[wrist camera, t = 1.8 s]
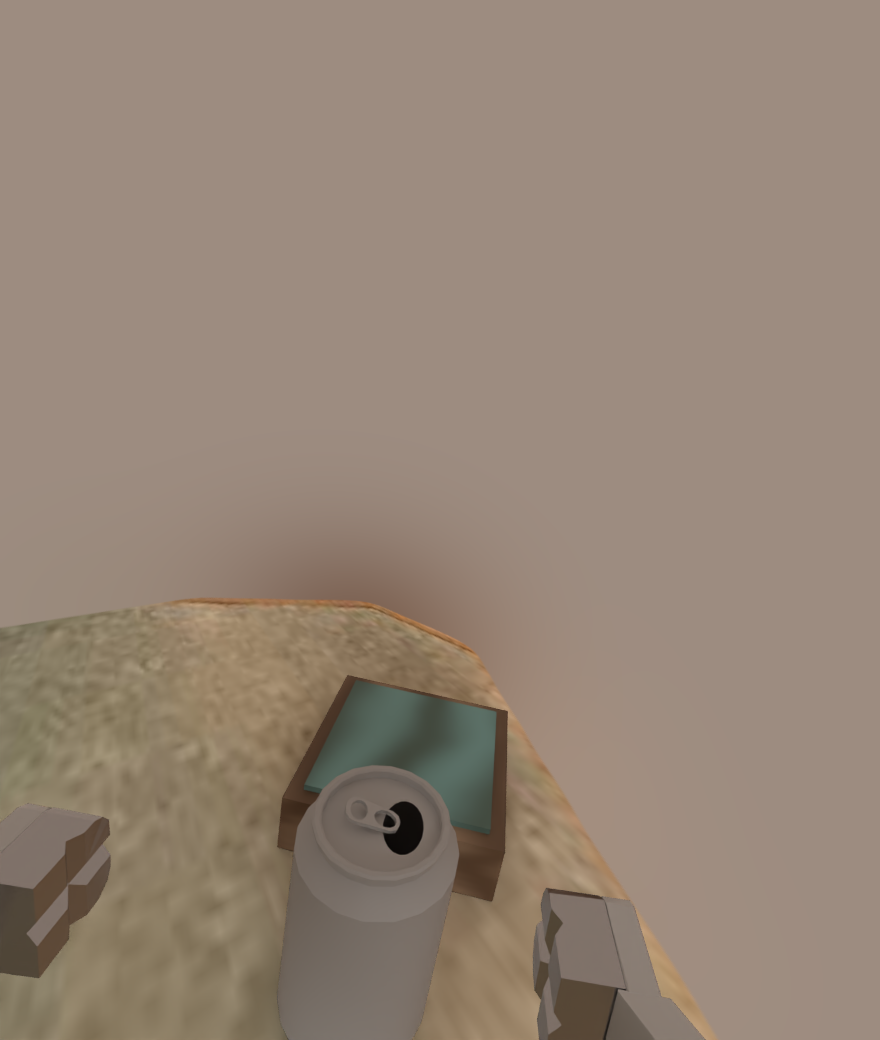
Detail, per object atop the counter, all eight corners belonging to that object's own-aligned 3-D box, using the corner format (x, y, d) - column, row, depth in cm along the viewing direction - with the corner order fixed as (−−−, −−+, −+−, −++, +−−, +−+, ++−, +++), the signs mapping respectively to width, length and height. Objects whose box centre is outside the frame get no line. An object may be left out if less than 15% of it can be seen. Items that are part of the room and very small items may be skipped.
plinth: (277, 847, 35) (282, 792, 34) (342, 713, 49) (348, 671, 47) (492, 901, 34) (506, 847, 33) (498, 750, 48) (508, 707, 46)
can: (418, 1103, 25) (466, 905, 21) (252, 1075, 25) (272, 873, 21) (428, 934, 32) (465, 765, 28) (300, 912, 32) (321, 740, 28)
